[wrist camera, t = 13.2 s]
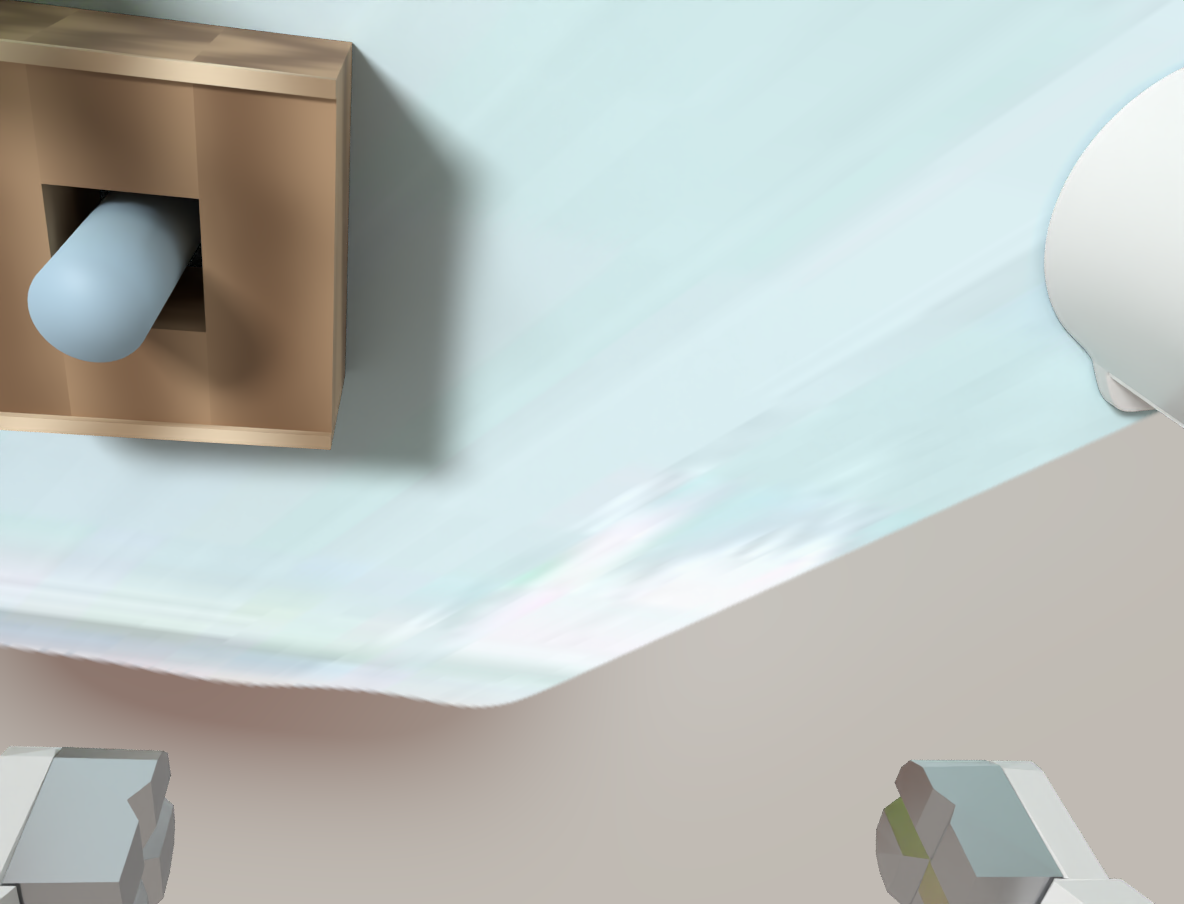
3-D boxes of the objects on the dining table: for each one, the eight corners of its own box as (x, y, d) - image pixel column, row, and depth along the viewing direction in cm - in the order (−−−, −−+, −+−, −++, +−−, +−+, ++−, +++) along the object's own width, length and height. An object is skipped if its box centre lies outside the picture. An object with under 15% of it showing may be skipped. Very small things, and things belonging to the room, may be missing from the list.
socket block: (352, 42, 39) (336, 80, 34) (345, 375, 46) (330, 449, 41) (-56, -9, 37) (-143, 24, 31) (3, 350, 44) (-60, 426, 39)
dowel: (208, 167, 41) (144, 262, 32) (213, 254, 43) (153, 366, 34) (111, 157, 40) (19, 252, 32) (119, 246, 42) (35, 358, 34)
